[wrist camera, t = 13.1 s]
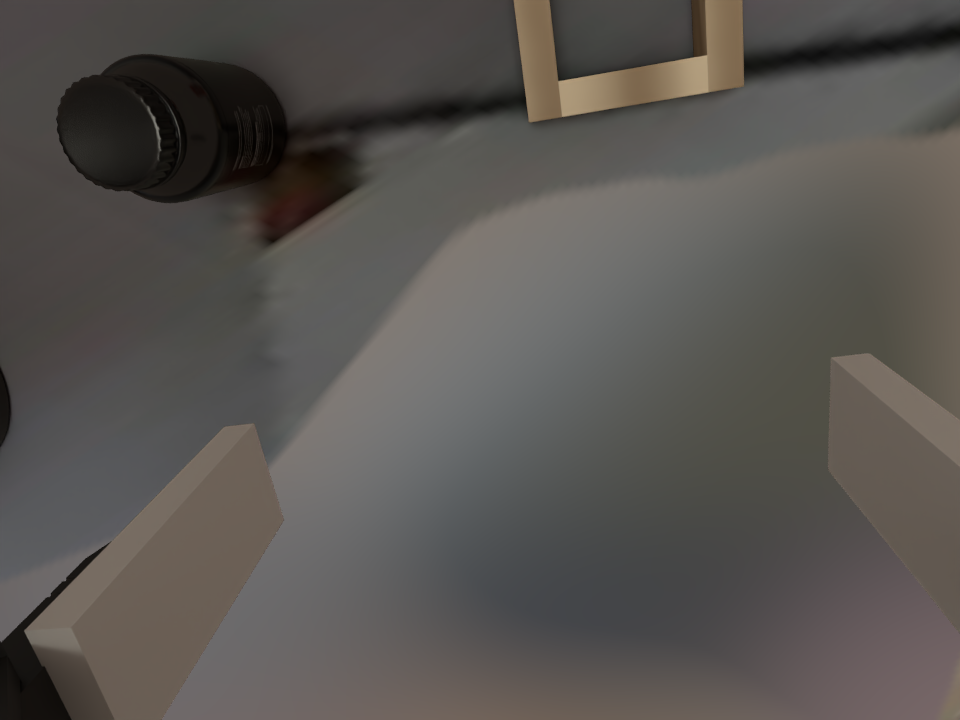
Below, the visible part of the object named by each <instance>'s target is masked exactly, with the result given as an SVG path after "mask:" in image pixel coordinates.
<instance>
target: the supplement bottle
mask: <svg viewBox="0 0 960 720" xmlns="http://www.w3.org/2000/svg"><path fill="white" fill-rule="evenodd" d="M56 120H57V124H58V126H57V132H58V134H59V141H60V143H61V144H62V146H63V150H64V153H65V154H66V155H67V156H68V158H69V161H70V163H71V164H73V165H74V166H75V167H76V169H77V171H78V172H79V173H82V174H83V175H84V177H85V178H86V179H88V180H90V181H92V182H93V183H94V184H95V185H98V186H102V187H104V188H105V189H113V190H115V191H131V192H132V193H134V194H136V195H138V196H140V197H142V198H145V199H148V200H151V201H155V202H161V203H178V202H184V201H189V200H193V199H196V198H200V197H204V196H208V195H211V194H215V193H219V192H222V191H226V190H230V189H233V188H237V187H241V186H244V185H248V184H251V183H254V182H256V181H258V180H260V179H262V178H263V177H265V176H266V175H267V174H268V173H270V172H271V170H272V169H273V168H274V167H275V165H276V164H277V162H278V161H279V159H280V157H281V154H282V151H283V148H284V143H285V123H284V118H283V114H282V111H281V108H280V106H279V103H278V101H277V100H276V98H275V96H274V95H273V93H272V92H271V90H270V89H269V88H268V87H267V86H266V84H265V83H264V82H263V81H262V80H260V79H259V78H258V77H257V76H255V75H254V74H253V73H251V72H249V71H247V70H245V69H243V68H241V67H238V66H235V65H231V64H225V63H219V62H211V61H203V60H195V59H187V58H179V57H171V56H163V55H154V54H140V55H132V56H128V57H125V58H122V59H120V60H118V61H116V62H114V63H113V64H111V65H110V66H109V67H108V68H106V69H105V70H104V71H103V72H102V73H101V74H100V75H92V76H90V77H89V78H88V77H84V78H81V79H80V81H79V82H74V83H73V84H72V86H71V88H68V89H66V92H65V95H64V96H63V97H62V98H61V104H60V105H59V107H58V116H57V118H56Z"/></svg>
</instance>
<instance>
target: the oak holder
mask: <svg viewBox="0 0 960 720" xmlns="http://www.w3.org/2000/svg"><path fill="white" fill-rule="evenodd" d="M691 4H692V27H693V50H694V58H689V59H683V60H677V61H672V62H666V63H660V64H654V65H649V66H643V67H637V68H632V69H626V70H620V71H615V72H609V73H603V74H598V75H592V76H586V77H580V78H575V79H569V80H563V81H558V75H557V66H556V56H555V47H554V38H553V29H552V20H551V11H550V2H549V0H514V6H515V14H516V22H517V30H518V38H519V46H520V54H521V62H522V70H523V78H524V85H525V93H526V101H527V109H528V117H529V122H535V121H541V120H547V119H553V118H559V117H565V116H571V115H577V114H583V113H589V112H594V111H600V110H606V109H612V108H618V107H624V106H630V105H636V104H642V103H648V102H654V101H660V100H666V99H672V98H678V97H684V96H689V95H695V94H701V93H707V92H713V91H719V90H725V89H731V88H737V87H743V86H744V64H743V12H742V0H691Z"/></svg>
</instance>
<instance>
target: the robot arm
mask: <svg viewBox="0 0 960 720" xmlns="http://www.w3.org/2000/svg"><path fill="white" fill-rule="evenodd" d="M8 421H9V403H8V396H7V391H6V387H5V384H4V381H3V378H2V375H1V373H0V445H1V443H2V441H3V439H4V437H5V434H6V431H7V427H8ZM828 454H829V455H828V470H829V472H830V473H831V474H832V475H833V477H834V478H835V479H836V480H837V482H838V483H839V484H840V485H841V486H842V488H843V489H844V490H845V491H846V493H847V494H848V495H849V496H850V498H851V499H852V500H853V501H854V503H855V504H856V505H857V506H858V508H859V509H860V510H861V511H862V513H863V514H864V515H865V516H866V518H867V519H868V520H869V521H870V522H871V524H872V525H873V526H874V527H875V529H876V530H877V531H878V532H879V534H880V535H881V536H882V537H883V539H884V540H885V541H886V542H887V544H888V545H889V546H890V547H891V549H892V550H893V551H894V552H895V554H896V555H897V556H898V557H899V559H900V560H901V561H902V562H903V564H904V565H905V566H906V567H907V569H908V570H909V571H910V572H911V573H912V575H913V576H914V577H915V578H916V580H917V581H918V582H919V583H920V585H921V586H922V587H923V588H924V590H925V591H926V592H927V593H928V595H929V596H930V597H931V598H932V600H933V601H934V602H935V603H936V605H937V606H938V607H939V608H940V609H941V611H942V612H943V613H944V614H945V616H946V617H947V618H948V620H949V621H950V622H951V623H952V624H953V626H954V627H955V628H956V629H957V630H958V632H959V633H960V420H959V419H957V418H956V417H955V416H953V415H952V414H951V413H949V412H948V411H947V410H945V409H944V408H943V407H941V406H940V405H939V404H937V403H936V402H934V401H933V400H932V399H930V398H929V397H928V396H926V395H925V394H924V393H922V392H921V391H920V390H918V389H917V388H915V387H914V386H913V385H912V384H910V383H909V382H907V381H906V380H905V379H903V378H902V377H901V376H899V375H898V374H897V373H895V372H894V371H893V370H891V369H890V368H888V367H887V366H886V365H884V364H883V363H882V362H880V361H879V360H878V359H876V358H875V357H874V356H872V355H871V354H870V353H867V354H858V355H850V356H841V357H832V358H831V379H830V415H829V453H828ZM283 521H284V518H283V515H282V512H281V509H280V506H279V502H278V499H277V496H276V493H275V489H274V486H273V483H272V480H271V476H270V473H269V470H268V467H267V464H266V460H265V457H264V454H263V451H262V447H261V444H260V441H259V438H258V434H257V431H256V428H255V425H254V423H253V424H244V425H235V426H226V427H224V428H223V429H222V430H221V431H220V432H219V433H218V434H217V435H216V436H215V437H214V438H213V439H212V440H211V441H210V442H209V443H208V444H207V445H206V446H205V447H204V448H203V449H202V450H201V451H200V452H199V453H198V454H197V455H196V456H195V457H194V458H193V459H192V460H191V461H190V462H189V463H188V464H187V465H186V466H185V467H184V468H183V469H182V470H181V471H180V472H179V473H178V474H177V475H176V476H175V477H174V478H173V480H172V481H171V482H170V483H169V484H168V485H167V486H166V487H165V488H164V489H163V490H162V491H161V492H160V493H159V494H158V495H157V496H156V497H155V498H154V499H153V500H152V501H151V502H150V503H149V504H148V505H147V506H146V507H145V508H144V509H143V510H142V511H141V512H140V513H139V514H138V515H137V516H136V517H135V518H134V519H133V520H132V521H131V522H130V523H129V524H128V525H127V526H126V527H125V528H124V529H123V531H122V532H121V533H120V534H119V535H118V536H117V537H116V538H115V539H114V540H113V541H111V542H110V543H108V544H107V545H105V546H104V547H102V548H101V549H99V550H98V551H96V552H95V553H93V554H92V555H90V556H89V557H87V558H86V559H85V560H84V561H83V562H82V563H81V564H80V565H79V566H78V567H77V568H76V569H75V570H74V571H73V572H72V573H71V574H70V575H69V576H68V577H67V578H66V581H64V582H62V583H61V584H60V585H59V586H58V587H57V588H56V589H55V590H54V591H53V592H52V593H51V597H47V598H46V599H45V600H44V601H43V602H42V603H41V604H40V605H39V606H38V607H37V608H36V609H35V610H34V611H33V612H32V613H31V614H30V615H29V616H28V617H27V618H26V619H25V620H23V622H21V624H19V625H18V626H17V628H16V629H15V630H14V631H12V633H11V634H10V635H9V636H7V637H6V639H5V640H4V641H2V642H0V720H162V718H163V717H164V715H165V713H166V711H167V710H168V708H169V707H170V705H171V704H172V702H173V700H174V699H175V697H176V695H177V694H178V692H179V690H180V689H181V687H182V686H183V684H184V682H185V681H186V679H187V678H188V675H189V674H190V673H191V671H192V669H193V668H194V666H195V664H196V663H197V661H198V659H199V658H200V656H201V655H202V653H203V651H204V650H205V648H206V647H207V645H208V643H209V641H210V640H211V638H212V637H213V635H214V633H215V632H216V630H217V629H218V627H219V625H220V623H221V622H222V620H223V619H224V617H225V616H226V614H227V612H228V611H229V609H230V607H231V606H232V604H233V602H234V601H235V599H236V598H237V596H238V594H239V593H240V591H241V589H242V588H243V586H244V585H245V583H246V581H247V580H248V578H249V576H250V575H251V573H252V572H253V570H254V568H255V567H256V565H257V563H258V562H259V560H260V559H261V557H262V555H263V554H264V552H265V550H266V549H267V547H268V545H269V544H270V542H271V541H272V539H273V537H274V536H275V534H276V532H277V531H278V529H279V528H280V526H281V524H282V522H283Z"/></svg>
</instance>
